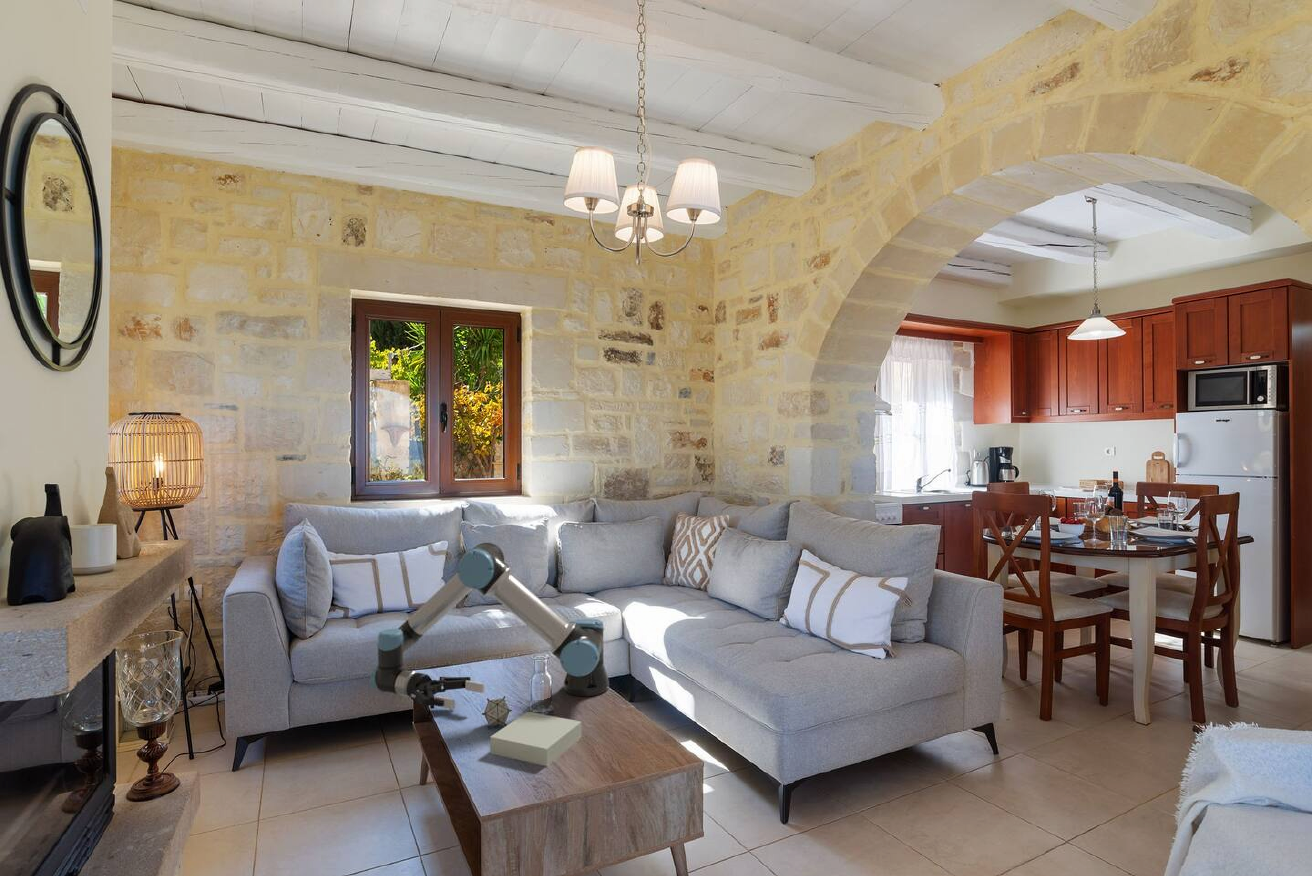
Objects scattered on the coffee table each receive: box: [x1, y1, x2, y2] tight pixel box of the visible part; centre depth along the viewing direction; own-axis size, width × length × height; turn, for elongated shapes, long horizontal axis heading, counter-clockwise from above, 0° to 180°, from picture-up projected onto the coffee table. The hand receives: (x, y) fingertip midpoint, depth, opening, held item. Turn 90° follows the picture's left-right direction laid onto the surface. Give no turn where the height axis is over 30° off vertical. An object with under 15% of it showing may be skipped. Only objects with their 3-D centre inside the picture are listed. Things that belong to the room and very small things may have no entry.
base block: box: [489, 711, 583, 767], centre depth 194 cm, size 18×18×5 cm
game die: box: [481, 696, 513, 729], centre depth 206 cm, size 9×8×10 cm
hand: (469, 696), depth 210 cm, fingers open, 13 cm apart
